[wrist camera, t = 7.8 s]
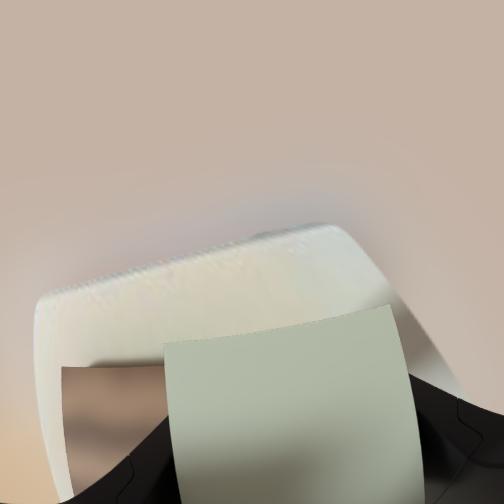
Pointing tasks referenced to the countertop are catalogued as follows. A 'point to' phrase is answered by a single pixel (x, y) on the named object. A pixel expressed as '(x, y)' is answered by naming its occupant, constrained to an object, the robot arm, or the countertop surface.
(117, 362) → the countertop surface
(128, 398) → the walnut stand
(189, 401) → the sage block
